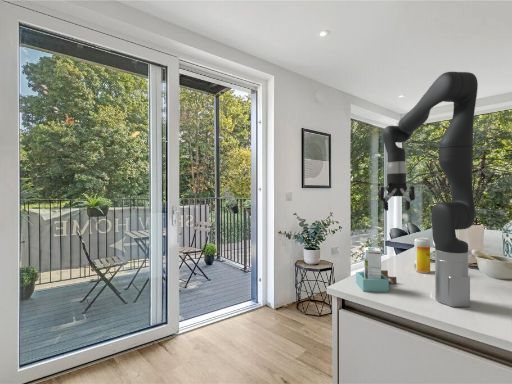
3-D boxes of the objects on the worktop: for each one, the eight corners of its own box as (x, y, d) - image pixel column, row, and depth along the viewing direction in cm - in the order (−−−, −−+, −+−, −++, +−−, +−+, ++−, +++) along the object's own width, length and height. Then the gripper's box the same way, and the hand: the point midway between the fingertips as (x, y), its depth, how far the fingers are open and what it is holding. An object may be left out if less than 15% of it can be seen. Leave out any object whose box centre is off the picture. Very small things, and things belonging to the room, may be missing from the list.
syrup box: (364, 283, 115) (363, 246, 115) (380, 284, 113) (379, 247, 113) (365, 288, 110) (364, 249, 109) (381, 289, 108) (381, 250, 107)
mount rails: (399, 285, 112) (399, 279, 112) (383, 285, 112) (383, 279, 112) (387, 276, 124) (387, 270, 124) (373, 276, 125) (372, 270, 125)
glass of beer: (433, 273, 126) (432, 239, 126) (419, 274, 126) (418, 239, 126) (425, 269, 132) (425, 237, 132) (411, 269, 132) (411, 237, 132)
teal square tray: (388, 291, 107) (388, 279, 107) (363, 291, 107) (363, 279, 107) (379, 283, 116) (379, 271, 116) (356, 283, 116) (356, 272, 116)
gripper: (382, 172, 121) (383, 211, 121) (417, 172, 120) (418, 211, 120) (376, 173, 128) (376, 210, 129) (409, 172, 127) (409, 209, 128)
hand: (396, 210), depth 124 cm, fingers open, 8 cm apart
